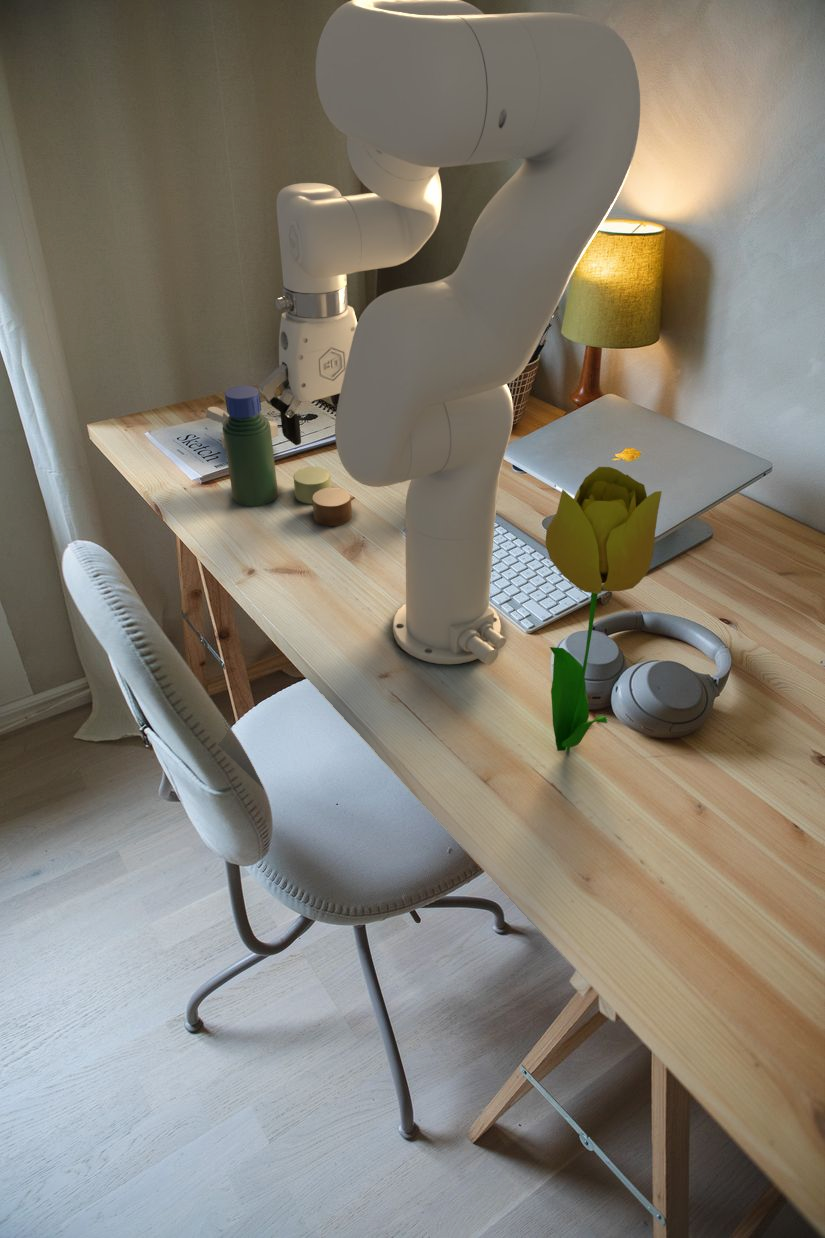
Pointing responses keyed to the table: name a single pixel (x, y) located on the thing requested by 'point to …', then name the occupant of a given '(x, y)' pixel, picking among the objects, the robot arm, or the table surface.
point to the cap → (243, 401)
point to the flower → (596, 572)
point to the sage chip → (310, 482)
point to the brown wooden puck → (332, 506)
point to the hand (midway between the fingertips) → (324, 431)
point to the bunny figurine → (222, 415)
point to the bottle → (250, 460)
